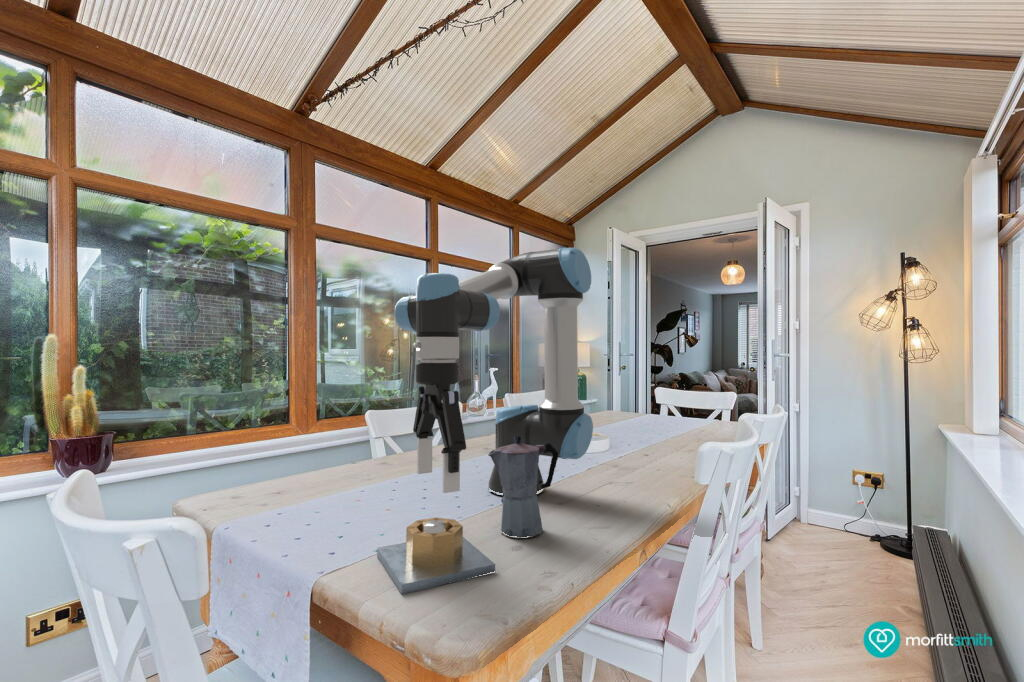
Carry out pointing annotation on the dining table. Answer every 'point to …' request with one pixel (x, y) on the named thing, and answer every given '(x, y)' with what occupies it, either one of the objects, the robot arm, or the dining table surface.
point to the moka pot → (521, 485)
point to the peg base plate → (428, 577)
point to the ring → (434, 543)
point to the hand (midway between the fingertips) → (437, 481)
